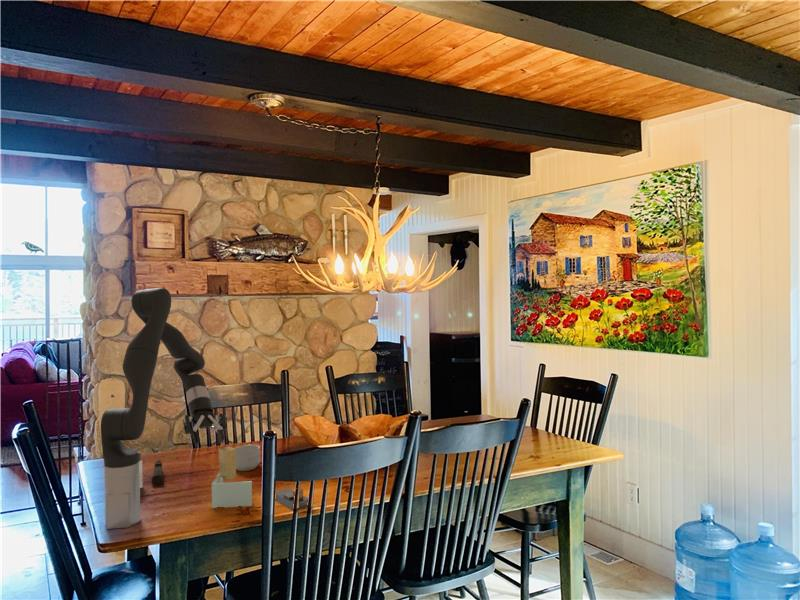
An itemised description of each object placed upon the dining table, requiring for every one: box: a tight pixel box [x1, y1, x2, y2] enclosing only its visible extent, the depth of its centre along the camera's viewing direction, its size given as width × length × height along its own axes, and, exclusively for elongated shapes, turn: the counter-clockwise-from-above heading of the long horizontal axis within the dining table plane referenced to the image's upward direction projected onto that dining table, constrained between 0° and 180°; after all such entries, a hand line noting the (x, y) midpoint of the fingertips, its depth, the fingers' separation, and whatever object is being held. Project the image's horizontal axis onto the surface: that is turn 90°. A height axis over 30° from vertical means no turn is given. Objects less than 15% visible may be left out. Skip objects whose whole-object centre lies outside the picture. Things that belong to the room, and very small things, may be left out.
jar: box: [136, 450, 143, 489], centre depth 199 cm, size 9×8×12 cm
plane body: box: [275, 487, 308, 511], centre depth 183 cm, size 14×6×5 cm, turn 39°
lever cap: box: [218, 445, 237, 480], centre depth 186 cm, size 5×4×9 cm
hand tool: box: [150, 460, 165, 486], centre depth 210 cm, size 19×4×5 cm, turn 19°
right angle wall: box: [211, 473, 253, 509], centre depth 185 cm, size 12×12×8 cm
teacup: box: [233, 443, 261, 472], centre depth 221 cm, size 14×11×8 cm
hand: (209, 442), depth 195 cm, fingers open, 8 cm apart
